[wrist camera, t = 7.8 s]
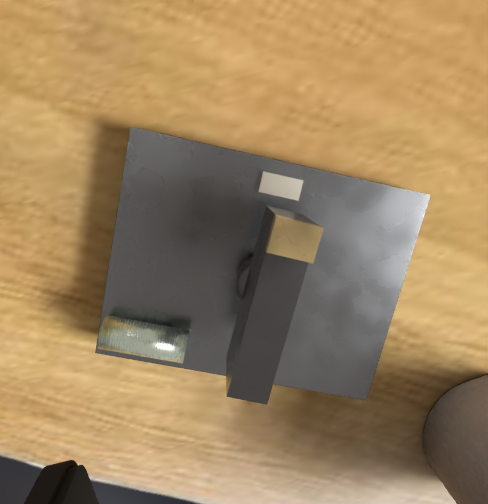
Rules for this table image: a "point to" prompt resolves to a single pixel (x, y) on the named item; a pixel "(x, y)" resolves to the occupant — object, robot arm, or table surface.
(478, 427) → the pillar candle
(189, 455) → the table surface
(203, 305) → the base
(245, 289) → the wing knob
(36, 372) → the table surface
